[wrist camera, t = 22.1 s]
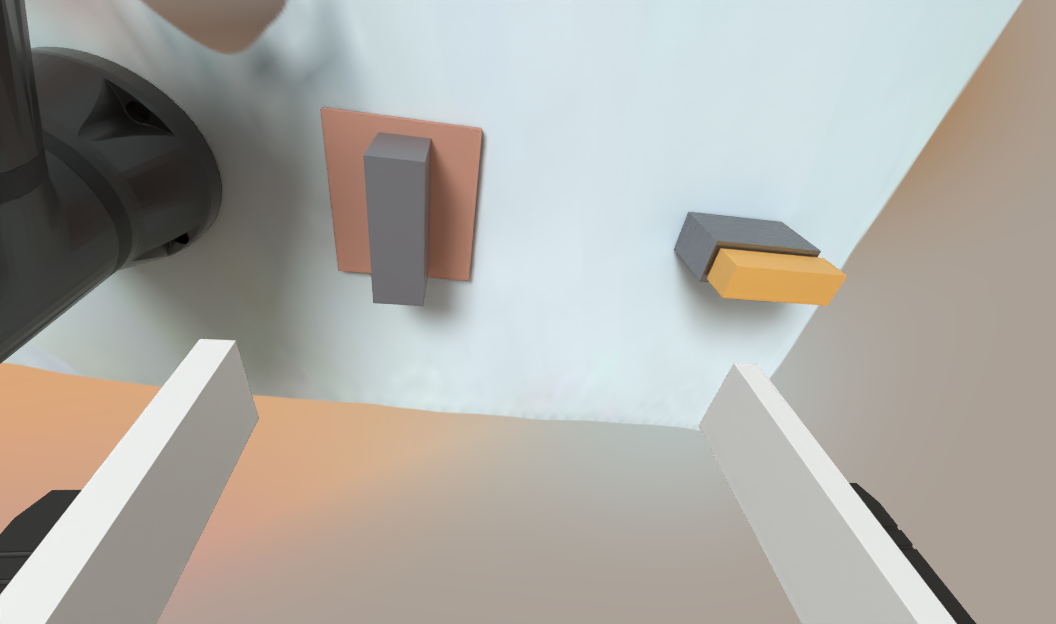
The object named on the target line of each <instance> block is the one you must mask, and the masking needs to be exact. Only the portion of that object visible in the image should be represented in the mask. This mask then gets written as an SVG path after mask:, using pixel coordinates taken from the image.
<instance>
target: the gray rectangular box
mask: <svg viewBox="0 0 1056 624" xmlns="http://www.w3.org/2000/svg"><path fill="white" fill-rule="evenodd" d="M720 248H723V249H734V250H744V251H754V252H765V253H775V254H786V255H796V256H807V257H818V255H819V254H820V252H821V251H820V250H819V249H817V248H816V247H815V246H813V245H812V244H811V243H809V242H808V241H807V240H805V239H804V238H803V237H801V236H800V235H799V234H797V233H796V232H795V231H793V230H792V229H790V228H789V227H788V226H786V225H785V224H784V223H782V222H776V221H767V220H758V219H749V218H740V217H730V216H721V215H712V214H703V213H694V212H688V215H687V218H686V220H685V223H684V225H683V228H682V231H681V233H680V236H679V238H678V241H677V244H676V246H675V249H674V250H675V251H676V252H677V254H678V255H679V256H680V257H681V259H682V260H683V261H684V262H685V264H686V265H687V266H688V268H689V269H690V270H691V271H692V273H693V274H694V275H695V276H696V278H697V279H698V280H699V281H701V282H709V281H708V280H707V277H708V275H709V272H710V270H711V268H712V266H713V264H714V261H715V259H716V257H717V255H718V253H719V250H720Z"/></svg>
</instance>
